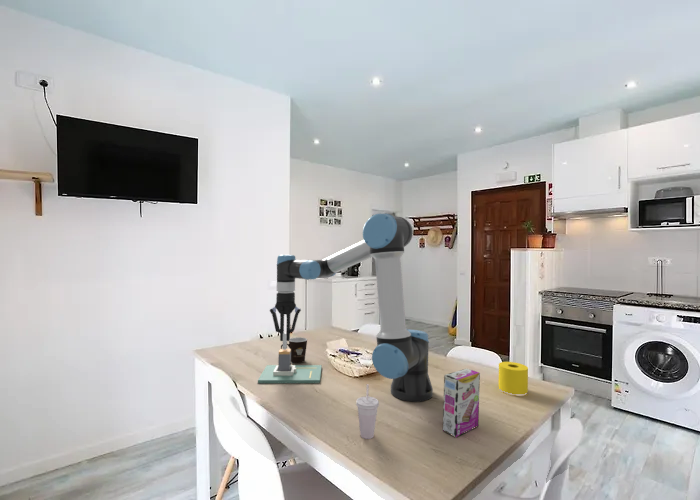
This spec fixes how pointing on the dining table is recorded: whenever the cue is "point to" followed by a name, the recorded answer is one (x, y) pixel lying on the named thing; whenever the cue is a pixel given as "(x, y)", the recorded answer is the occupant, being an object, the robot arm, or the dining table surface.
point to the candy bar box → (461, 401)
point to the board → (291, 374)
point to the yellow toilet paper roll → (513, 377)
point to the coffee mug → (297, 349)
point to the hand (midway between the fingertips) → (284, 348)
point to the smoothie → (367, 415)
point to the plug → (284, 360)
